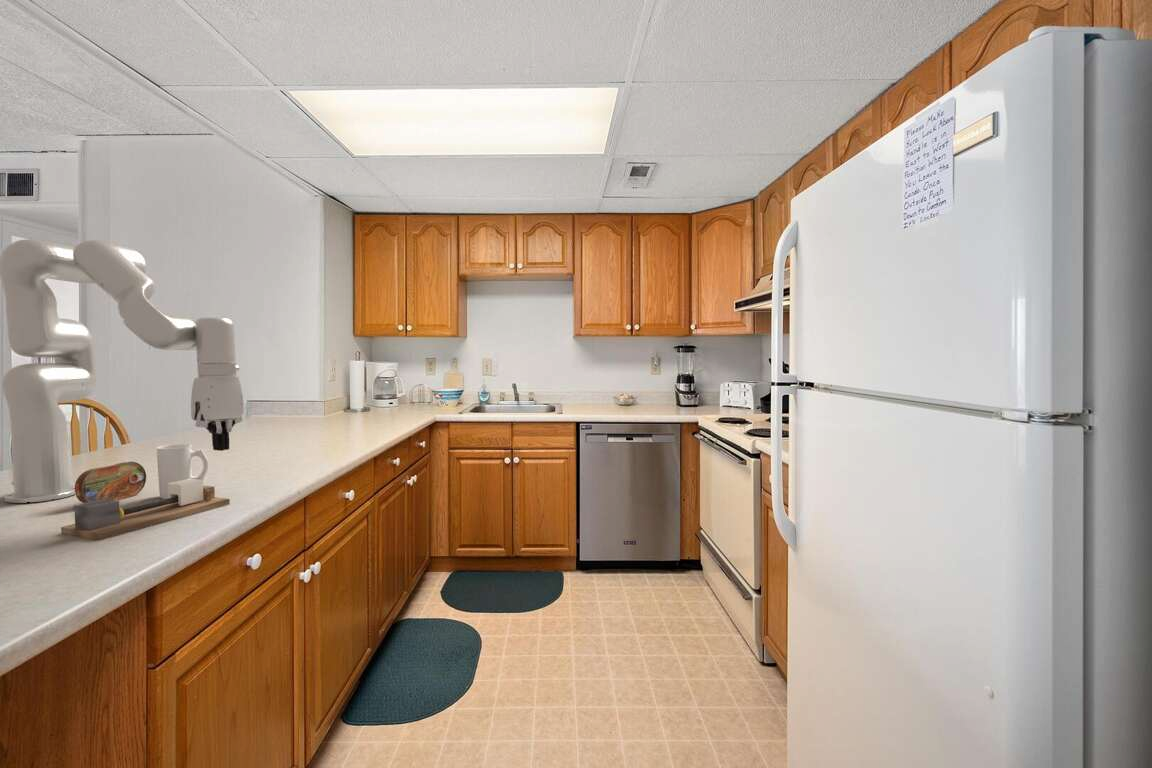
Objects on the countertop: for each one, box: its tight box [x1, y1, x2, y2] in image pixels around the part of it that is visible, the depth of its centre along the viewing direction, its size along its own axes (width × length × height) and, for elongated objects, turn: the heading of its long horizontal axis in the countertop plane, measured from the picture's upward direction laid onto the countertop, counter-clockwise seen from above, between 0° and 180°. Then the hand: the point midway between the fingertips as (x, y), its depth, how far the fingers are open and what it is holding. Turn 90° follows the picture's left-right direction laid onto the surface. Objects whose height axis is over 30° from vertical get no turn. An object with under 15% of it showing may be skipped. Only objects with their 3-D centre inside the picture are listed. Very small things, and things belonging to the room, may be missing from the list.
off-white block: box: [168, 479, 204, 506], centre depth 122 cm, size 4×5×4 cm
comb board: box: [60, 485, 231, 541], centre depth 116 cm, size 11×26×6 cm, turn 161°
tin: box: [74, 461, 147, 504], centre depth 129 cm, size 15×3×8 cm, turn 170°
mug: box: [156, 443, 209, 500], centre depth 134 cm, size 10×7×12 cm, turn 118°
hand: (221, 449), depth 129 cm, fingers closed
